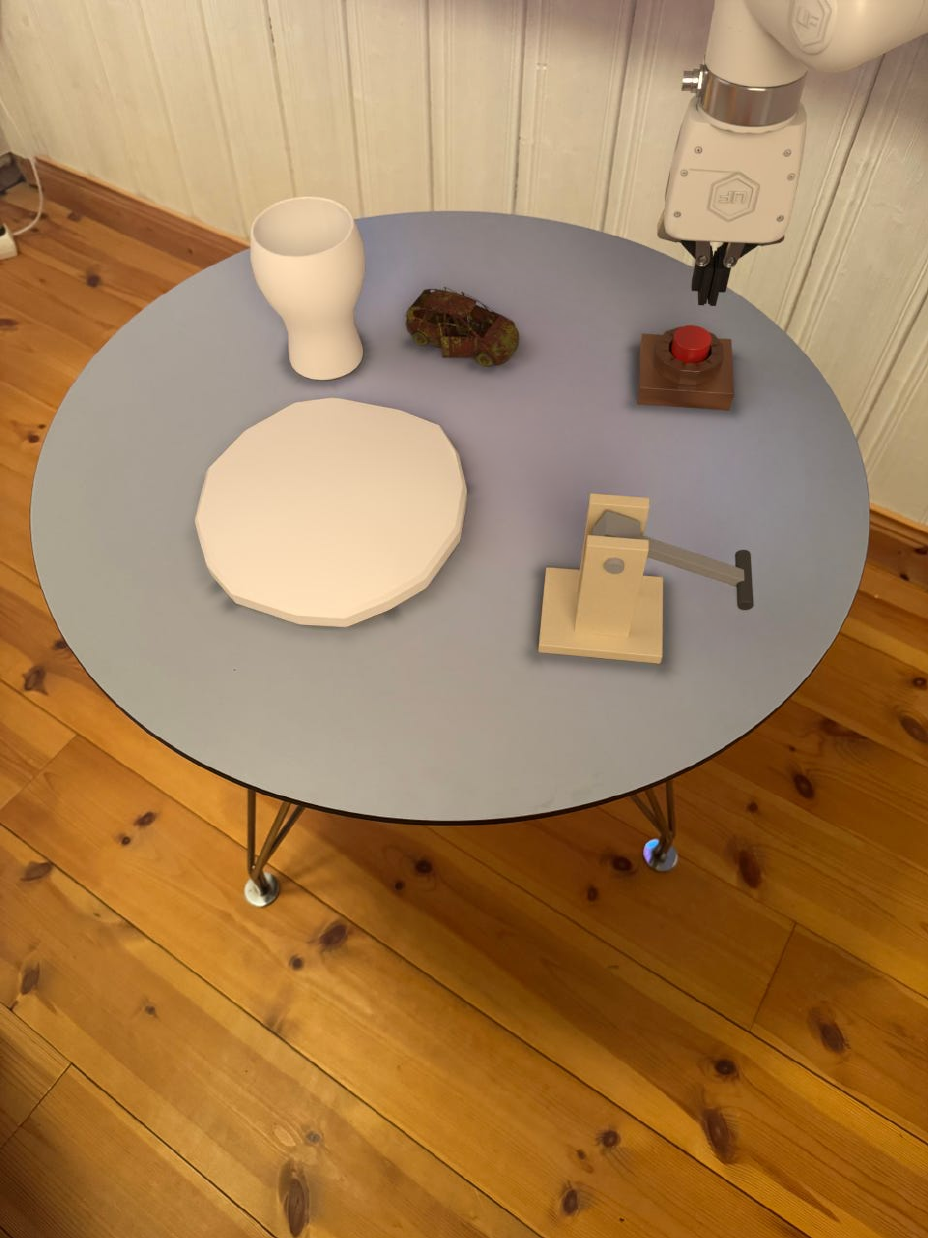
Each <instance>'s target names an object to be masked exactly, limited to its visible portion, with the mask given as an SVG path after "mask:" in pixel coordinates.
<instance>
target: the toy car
mask: <svg viewBox="0 0 928 1238" xmlns="http://www.w3.org/2000/svg"><path fill="white" fill-rule="evenodd" d="M443 288H444V289H437V288H426V289H425V288H424V289H423V290H422V292H421V294H420V295H419V296H418V297H417V298H416V299H415V301H413V303H412V304H411V305H410V306H409V307H408V309H407V310H406V312H405V317H406V319H405V320H406V322H405V326H406V330H407V332H408V333H409V335H410V336H411V337H412V338H413V340H414V342H415V343H416V344H417V345H418V346H420V347H421V346H422V347H424V346H425V347H426V345H427V344H429V345H430V346H434V347H436V348H440V349H441V355H442V358H443V359H452V358H453V359H454V358H455V359H456V358H457V359H458V358H471V359H473V360H476V361H477V363H478V364H479V365H480V366H482V367H487V368H488V367H491V366H492V364H493V365H494V366H497V367H498V366H501V365H503V364H506V363H507V362H508V361H509V360H511V358H512V357H513V356H514V354H515V353H516V351H517V349H518V348H519V344H520V332H519V329H518V327H516V323H515V322H514V321H513V320H511V319H510V318H507V317H506V316H505V315H502V314H501V313H497V312H495V311H494V310H492V309H490V307H488V306H487V305H486V304H483V302H481V301H480V300H478V299H476V298H474V297H472V296H471V295H469V294H467V293H465V292H463V291H460V293H459V292H457V291H455V290H453V289H450V288H449V287H446V286H443ZM477 303H480V305H482V306H480V305H478V304H477Z"/></svg>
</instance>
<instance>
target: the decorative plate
mask: <svg viewBox="0 0 928 1238" xmlns="http://www.w3.org/2000/svg"><path fill="white" fill-rule="evenodd" d="M205 471H206V472H205V475H204V481H203V484H202V488H201V493H200V497H199V501H198V505H197V509H196V513H195V517H194V524H195V528H196V532H197V536H198V539H199V542H200V546H201V550H202V554H203V557H204V562H205V565H206V568H207V570H208V572H209V574H210V575H211V577H212V578H213V579H214V581H216V583H218V585H219V586H220V587H221V588H222V589H223V590H224V592H225V593H226V594H227V595H228V596H229V597H230V598H231V600H232V601H233V602H234V603H235V604H237V605H240V606H243V607H245V608H249V609H252V610H256V611H257V612H261V613H264V614H267V615H270V616H272V617H276V618H278V619H282V620H285V621H288V622H291V623H294V624H296V625H301V626H302V625H305V626H321V627H338V628H347V627H350V626H352V625H355V624H357V623H360V622H362V621H365V620H367V619H370V618H372V617H375V616H378V615H380V614H383V613H385V612H388V611H390V610H391V609H393V608H395V607H397V606H398V605H400V604H402V603H404V602H405V601H407V600H409V599H410V598H412V597H414V596H415V595H417V594H419V593H420V592H422V591H424V590H425V589H427V588H428V587H429V585H430V584H431V582H433V580H434V579H435V577H436V575H437V574H438V573H439V571H440V570H441V569H442V567H443V566H444V564H445V563H446V562H447V560H448V559H449V558H450V556H451V555H452V554H453V552H454V550H455V549H456V547H457V546H458V544H459V543H460V542H461V539H462V533H463V528H464V521H465V515H466V508H467V504H468V503H467V502H468V491H467V490H468V488H467V484H466V479H465V475H464V471H463V467H462V462H461V456H460V454H459V451H457V449H456V447H455V446H454V445H453V443H452V441H451V440H450V439H449V437H448V435H447V434H446V433H445V431H444V430H443V428H442V426H440V424H437V423H434V422H432V421H429V420H426V419H424V418H421V417H419V416H416V415H413V414H412V413H408V412H406V411H404V410H401V409H396V408H391V407H386V406H381V405H376V404H370V403H365V402H360V401H356V400H355V401H354V400H349V399H346V398H345V399H344V398H339V397H326V398H319V399H312V400H311V399H310V400H304V401H303V400H302V401H297V402H296V401H295V402H293V403H292V404H290V405H288V406H286V407H285V408H283V409H281V410H279V411H278V412H276V413H273V414H272V415H270V416H269V417H267V418H264V419H263V420H261V421H259V422H258V423H256V424H254V425H252V426H250V427H249V428H247V429H245V430H244V431H243V432H242V433H241V434H240V435H239V436H238V437H237V438H236V439H235V441H233V443H231V445H229V446H228V447H227V448H226V450H224V452H223V453H222V454H221V455H220V456H219V457H218V458H217V459H215V461H214V462H213V463H212V464H211V465H209V467H208V468H207V469H206V470H205Z"/></svg>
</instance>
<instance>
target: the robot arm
mask: <svg viewBox="0 0 928 1238" xmlns="http://www.w3.org/2000/svg"><path fill="white" fill-rule="evenodd" d="M711 15H712V16H711V21H710V27H709V31H708V32H709V33H708V38H707V45H706V51H705V55H703V60H702V63H699V66H698V68H693V70H683V71H682V76H681V83H680V91H681V92H690V94H695V95H694V96H692V97H691V99H690V101H689V103H688V105H687V107H686V110H685V113H684V116H683V119H682V121H681V125H680V127H679V131H678V135H677V138H676V142H675V145H674V149H673V153H672V158H671V163H670V166H669V172H668V177H667V182H666V187H665V194H664V209H663V210H662V213H661V216H660V218H659V219H658V222H657V225H656V234H657V237H658V238H659V239H661V240H665V241H668V242H672V243H676V244H677V243H680V244H681V245H682V247H683V248H684V249H685V250H686V251H687V252H688V253H689V254H690V255H691V256H692V257H693V259H694V260H695V262H694V267H693V273H692V277H691V285H690V286H691V288H690V289H691V292H697V305H698V306H705V305H709V307H716V306H717V304H718V298H719V294H720V293H726V291H727V287H728V283H729V279H730V275H731V270H732V268H733V267H735V266H736V265H737V264H738V261H739V260H740V259H741V258H742V257H744V256H746V255H747V254H749V253H750V252H751V251H754V250H755V249H756V248H757V247H759V246H760V247H765V246H772V245H777V244H781V243H782V242H784V240H785V234H786V233H787V230H788V228H789V225H790V220H791V216H792V212H793V208H794V204H795V200H796V199H795V198H796V194H797V190H798V186H799V185H798V184H799V180H800V175H801V169H802V164H803V159H804V153H805V152H804V151H805V147H806V146H805V145H806V136H807V128H808V127H807V126H808V125H807V124H808V113H807V112H806V108H805V106H804V103H803V102H802V101H801V99H802V95H803V91H804V86H805V83H806V79H807V75H808V71H809V69H811V70H814V71H815V72H816V71H817V72H820V73H823V74H824V73H825V74H836V73H837V74H838V73H842V72H846V71H849V70H851V69H854V68H856V67H857V68H858V67H859V66H860V65H863V64H864V63H865V64H866V63H867V62H869V61H872V60H873V59H876V58H878V57H880V56H882V55H884V54H886V53H889V52H890V51H892V50H895V48H898V47H901V46H902V45H904V44H906V43H909V42H910V41H913V40H915V39H917V38H919V37H921V36H923V35H926V34H927V33H928V0H714V3H713V7H712V14H711ZM711 243H721V244H720V245H719V246H717V248H716V250H713V246H712V245H711Z"/></svg>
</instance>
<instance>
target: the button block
mask: <svg viewBox="0 0 928 1238" xmlns="http://www.w3.org/2000/svg"><path fill="white" fill-rule="evenodd" d="M680 327H682V326H681V325H680V326H678V327H674V328H671V329H668V330H665V331H664V333H662V334H658V333H657V334H656V333H641V337H640V344H639V350H638V377H637V378H638V379H637V405H646V406H660V407H661V406H662V407H673V408H674V407H675V408H687V409H688V408H689V409H690V408H691V409H702V410H703V409H705V410H716V411H717V410H718V411H730V410H731V406H732V403H733V399H734V396H735V383H734V365H733V363H734V362H733V343H732V338H721V337H720V338H719V337H717V336H716V335H715V334H714V333H712V332H711V331H708V332H709V333H710V335H711V344H710V348H709V352H708V356H707V357H706V358H705V359H704V360H703V361H701V362H698V363H685V362H683V361H681V360H678V359H676V358H675V357H674V356H673V354H672V352H671V347H672V342H673V337H674V333H675V332H676V330H677V329H679V328H680Z"/></svg>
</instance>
